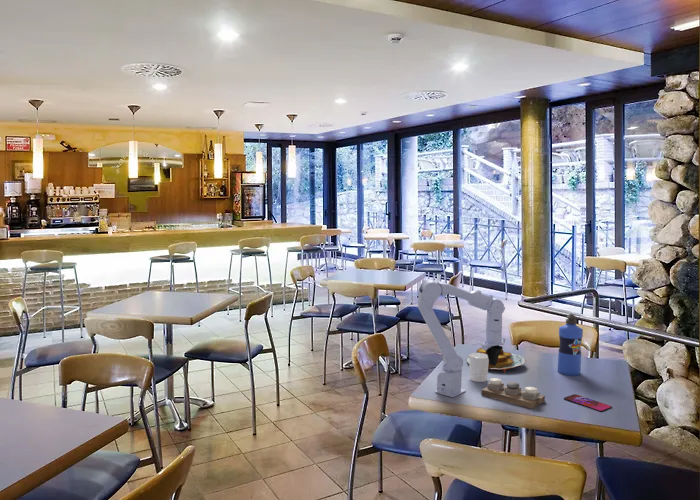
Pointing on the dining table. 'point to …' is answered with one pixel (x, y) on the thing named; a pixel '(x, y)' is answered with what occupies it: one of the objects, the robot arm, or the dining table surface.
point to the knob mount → (513, 394)
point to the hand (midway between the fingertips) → (492, 364)
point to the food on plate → (504, 360)
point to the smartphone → (587, 402)
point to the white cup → (478, 366)
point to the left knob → (495, 381)
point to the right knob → (531, 390)
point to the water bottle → (570, 347)
